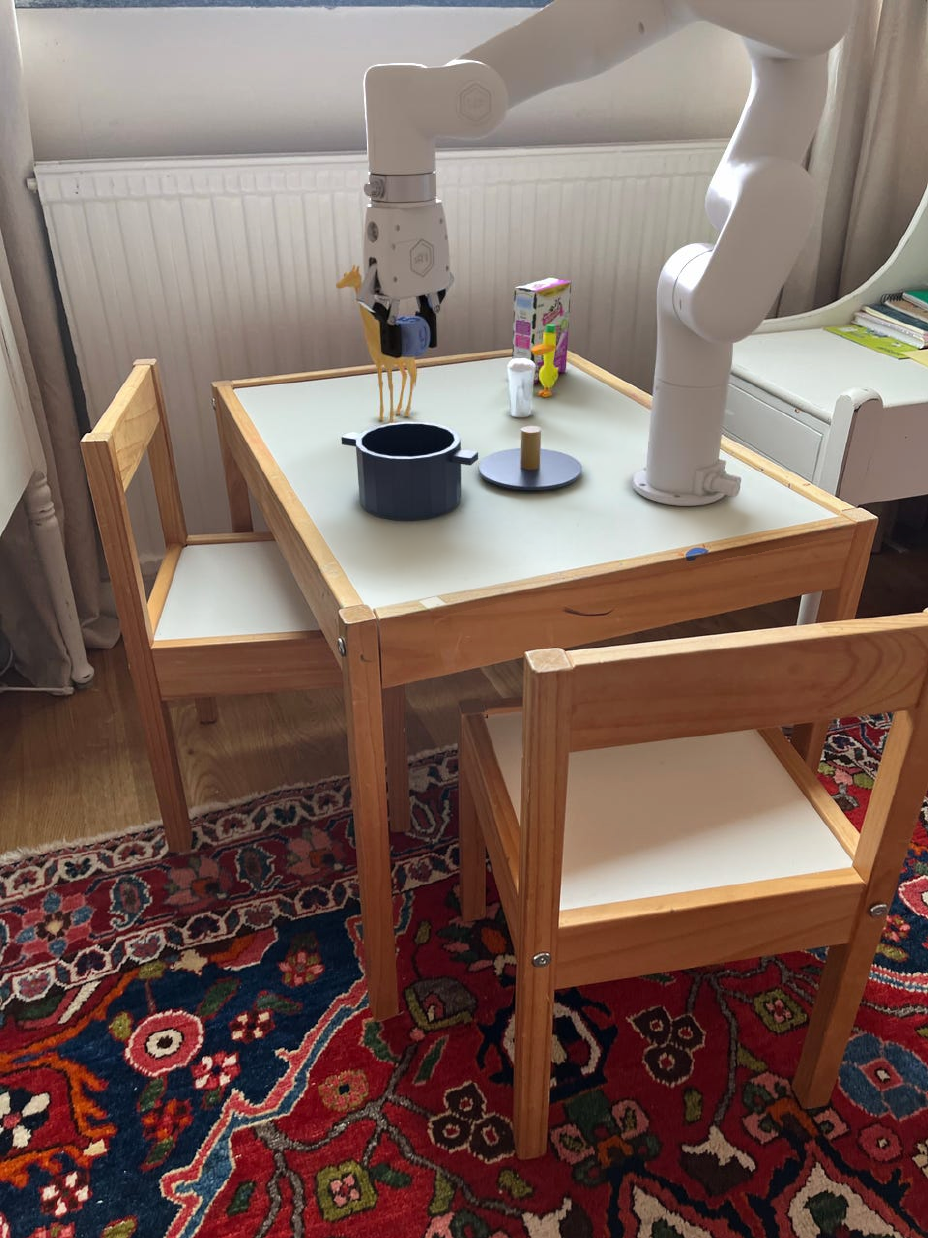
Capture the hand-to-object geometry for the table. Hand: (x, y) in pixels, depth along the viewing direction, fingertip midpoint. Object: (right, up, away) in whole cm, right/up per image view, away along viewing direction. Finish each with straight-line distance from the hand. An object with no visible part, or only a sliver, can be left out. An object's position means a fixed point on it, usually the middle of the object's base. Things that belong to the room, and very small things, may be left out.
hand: (409, 349), depth 118 cm
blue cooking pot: (-1, -17, +12) cm, 21 cm away
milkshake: (+16, +1, +41) cm, 44 cm away
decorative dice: (0, -1, 0) cm, 1 cm away
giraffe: (-6, -1, +39) cm, 39 cm away
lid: (+16, -12, +19) cm, 28 cm away
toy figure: (+21, +6, +50) cm, 54 cm away
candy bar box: (+21, +11, +59) cm, 64 cm away
